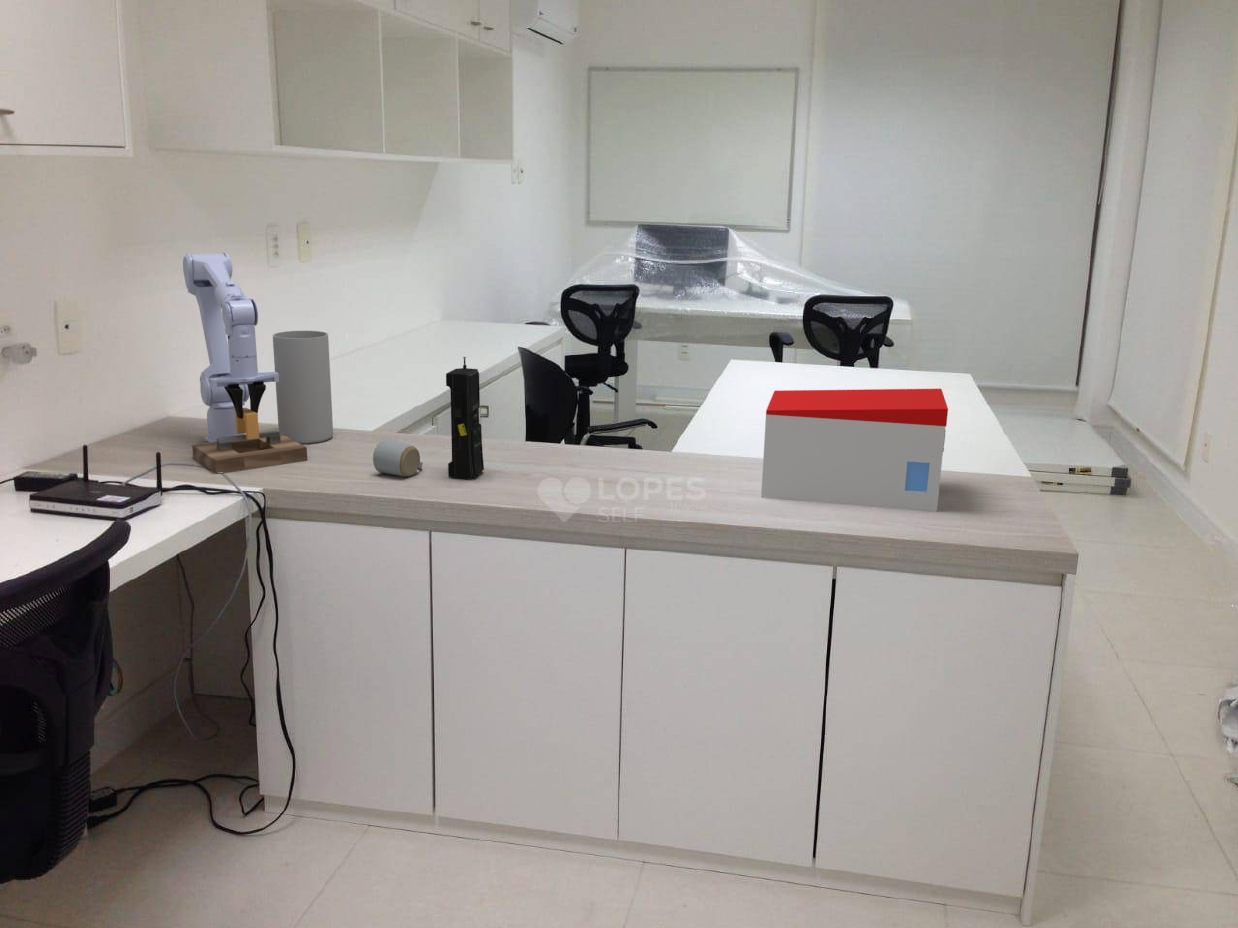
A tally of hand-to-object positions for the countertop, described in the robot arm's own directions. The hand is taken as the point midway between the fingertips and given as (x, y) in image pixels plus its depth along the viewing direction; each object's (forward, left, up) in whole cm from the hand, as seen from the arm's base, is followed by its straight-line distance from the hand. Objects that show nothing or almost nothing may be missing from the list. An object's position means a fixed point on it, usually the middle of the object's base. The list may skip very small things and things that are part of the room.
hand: (247, 416), depth 241 cm
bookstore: (+92, +94, -10) cm, 132 cm away
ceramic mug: (+28, +23, -10) cm, 38 cm away
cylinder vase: (-11, +18, -10) cm, 23 cm away
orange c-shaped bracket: (-1, 0, -4) cm, 4 cm away
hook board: (0, 0, -10) cm, 10 cm away
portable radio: (+38, +33, -10) cm, 51 cm away
